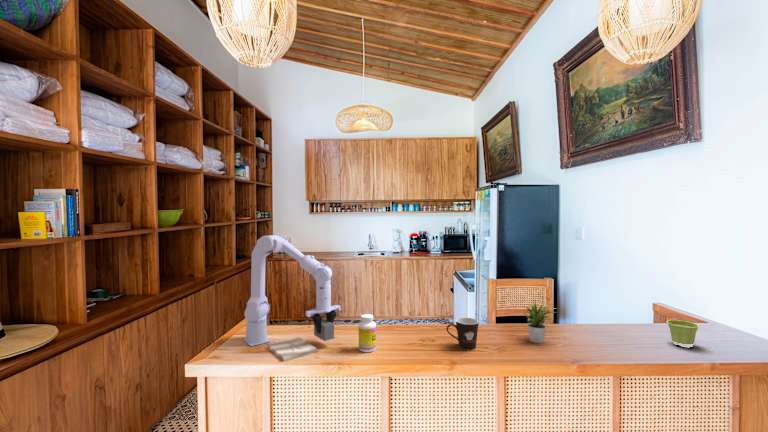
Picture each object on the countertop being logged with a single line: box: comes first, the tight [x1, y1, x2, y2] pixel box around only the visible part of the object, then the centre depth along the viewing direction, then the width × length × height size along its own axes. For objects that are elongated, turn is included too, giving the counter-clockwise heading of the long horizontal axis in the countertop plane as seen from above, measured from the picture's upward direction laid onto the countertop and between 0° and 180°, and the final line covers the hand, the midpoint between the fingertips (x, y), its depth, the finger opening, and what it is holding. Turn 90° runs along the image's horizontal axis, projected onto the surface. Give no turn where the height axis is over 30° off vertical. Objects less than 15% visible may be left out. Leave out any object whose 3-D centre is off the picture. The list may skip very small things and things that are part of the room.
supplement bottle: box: [358, 313, 377, 353], centre depth 129 cm, size 7×7×13 cm
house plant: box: [521, 299, 558, 344], centre depth 136 cm, size 14×14×16 cm
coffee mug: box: [446, 317, 480, 351], centre depth 132 cm, size 12×9×10 cm
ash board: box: [267, 336, 318, 362], centre depth 130 cm, size 16×13×1 cm
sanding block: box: [313, 318, 335, 342], centre depth 135 cm, size 9×4×6 cm, turn 39°
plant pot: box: [666, 319, 700, 344], centre depth 131 cm, size 9×9×9 cm
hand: (323, 331), depth 135 cm, fingers closed on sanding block, 4 cm apart
